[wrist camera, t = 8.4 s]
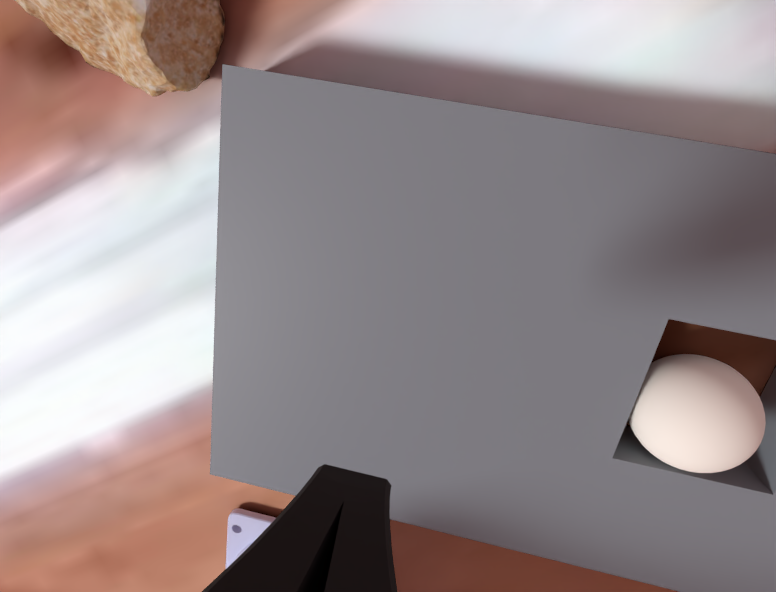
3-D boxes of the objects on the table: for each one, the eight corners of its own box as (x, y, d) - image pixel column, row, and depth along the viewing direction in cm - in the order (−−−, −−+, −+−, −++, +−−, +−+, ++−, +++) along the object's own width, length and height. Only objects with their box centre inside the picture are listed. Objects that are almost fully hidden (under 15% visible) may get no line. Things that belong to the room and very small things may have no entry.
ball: (661, 407, 19) (767, 474, 16) (592, 436, 18) (694, 518, 14) (688, 324, 17) (813, 380, 14) (614, 348, 16) (736, 418, 13)
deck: (760, 565, 20) (801, 622, 17) (237, 438, 22) (210, 474, 19) (985, 193, 14) (1089, 204, 12) (256, 75, 16) (222, 64, 14)
